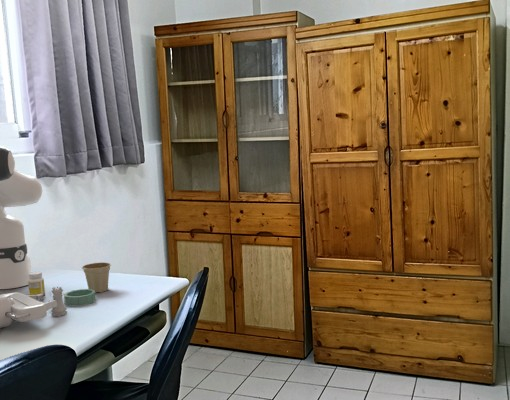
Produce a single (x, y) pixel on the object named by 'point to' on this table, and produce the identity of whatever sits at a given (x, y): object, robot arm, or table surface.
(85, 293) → the bowl
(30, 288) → the supplement bottle
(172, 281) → the table surface
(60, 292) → the rook chess piece
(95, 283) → the flower pot
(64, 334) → the table surface
